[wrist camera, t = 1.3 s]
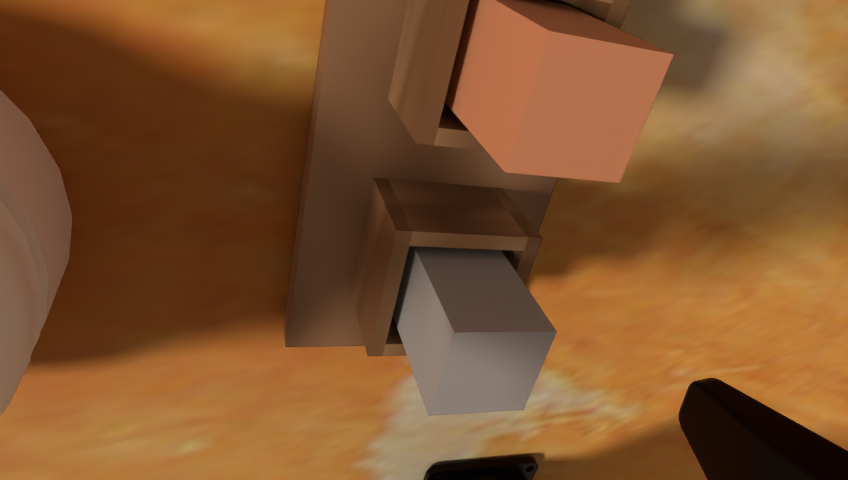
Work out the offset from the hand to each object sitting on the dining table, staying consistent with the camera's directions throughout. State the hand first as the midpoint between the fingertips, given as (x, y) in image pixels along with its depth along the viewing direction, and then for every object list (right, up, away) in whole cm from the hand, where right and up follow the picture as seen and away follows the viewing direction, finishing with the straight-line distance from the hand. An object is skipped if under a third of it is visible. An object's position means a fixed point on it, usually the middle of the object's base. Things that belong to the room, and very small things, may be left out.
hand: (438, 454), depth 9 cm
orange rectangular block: (+2, +9, +7) cm, 11 cm away
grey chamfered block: (0, +2, +11) cm, 11 cm away
